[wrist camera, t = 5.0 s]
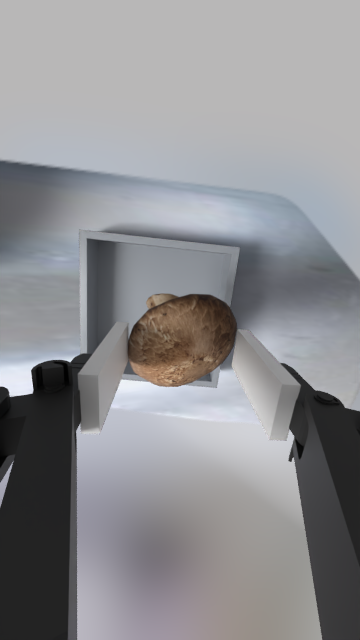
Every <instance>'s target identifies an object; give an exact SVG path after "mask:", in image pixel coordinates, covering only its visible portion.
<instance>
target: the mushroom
mask: <svg viewBox="0 0 360 640" xmlns="http://www.w3.org/2000/svg"><path fill="white" fill-rule="evenodd" d="M146 305H147V307H148V310H147V311H146V313H145V314H144V315H143V316H142V317H141V318H140V319H139V320H138V321H137V322H136V323H135V324H134V326H133V328H132V331H131V334H130V337H129V340H128V358H129V362H130V366H131V367H132V369H133V371H134V372H135V373H136V374H137V375H138V376H140V377H142V378H144V379H145V380H147V381H149V382H151V383H153V384H155V385H158V386H165V387H178V386H181V385H185V384H189V383H192V382H194V381H196V380H197V379H199V378H201V377H203V376H205V375H207V374H208V373H210V372H212V371H213V370H215V369H216V368H217V367H218V366H220V365H221V364H222V363H223V361H224V360H225V359H226V357H227V356H228V355H229V353H230V352H231V350H232V348H233V346H234V342H235V336H236V331H237V323H236V320H235V317H234V315H233V313H232V311H231V309H230V307H229V306H228V305H227V303H225V302H224V301H222V300H220V299H218V298H216V297H214V296H213V295H211V294H188V295H185V296H181V297H178V296H175V295H173V294H163V293H161V294H155V295H152V296H151V297H149V298H148V300H147V301H146Z"/></svg>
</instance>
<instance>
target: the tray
mask: <svg viewBox="0 0 360 640" xmlns="http://www.w3.org/2000/svg"><path fill="white" fill-rule="evenodd" d="M239 251H240V247H232V246H223V245H214V244H205V243H196V242H187V241H178V240H169V239H160V238H150V237H141V236H132V235H123V234H114V233H105V232H96V231H87V230H79V263H80V354H82V353H87V354H93V353H94V352H95V350H96V349H97V348H98V346H99V345H100V344H101V342H102V341H103V340H104V338H105V337H106V336H107V334H108V333H109V331H110V330H111V329H112V327H113V326H114V325H115V323H116V322H129V332H128V340H129V337H130V334H131V331H132V328H133V326H134V324H135V323H136V322H137V321H138V320H139V319H140V318H141V317H142V316H143V315H144V314H145V313H146V311H147V310H148V307H147V305H146V301H147V300H148V298H149V297H151V296H152V295H155V294H161V293H163V294H173V295H175V296H178V297H181V296H185V295H188V294H211V295H213V296H214V297H216V298H218V299H220V300H222V301H224V302H225V303H227V305H228V306H229V307H230V306H231V300H232V294H233V287H234V281H235V275H236V269H237V263H238V257H239ZM220 366H221V365H220ZM220 366H218V367H217V368H216V369H215V370H213V371H212V372H210V373H208V374H207V375H205V376H203V377H201V378H199V379H197V380H196V381H194V382H192V383H189V384H185V385H190V386H201V387H213V388H217V384H218V378H219V372H220ZM121 379H124V380H135V381H146V382H149V381H147V380H145V379H144V378H142V377H140V376H138V375H137V374H136V373H135V372H134V371H133V369H132V367H131V366H130V362H129V358H128V362H127V365H126V367H125V370H124V373H123V375H122V378H121Z"/></svg>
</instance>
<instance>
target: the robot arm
mask: <svg viewBox="0 0 360 640" xmlns="http://www.w3.org/2000/svg"><path fill="white" fill-rule="evenodd" d="M128 332H129V322H116V323H115V325H114V326H113V327H112V329H111V330H110V331H109V333H108V334H107V336H106V337H105V338H104V340H103V341H102V342H101V344H100V345H99V346H98V348H97V349H96V350H95V352H94V353H93V354H87V353H82V354H80V355H78V356H77V357H75V358H74V359H73V360H72V361H71V362H68V361H64V360H51V361H46V362H43V363H40V364H38V365H36V366H35V367H33V369H32V370H31V373H32V381H33V390H34V391H33V394H28V395H22V396H15V397H10V396H9V391H8V389H7V388H5V387H0V482H1V480H2V479H3V477H4V476H5V474H6V472H7V471H8V469H9V467H10V465H11V464H12V462H13V460H14V462H13V465H12V469H11V472H10V476H9V480H8V483H7V487H6V490H5V494H4V497H3V501H2V504H1V508H0V640H77V444H76V443H77V439H76V430H77V428H78V426H79V424H81V433H82V434H100V432H101V430H102V427H103V425H104V422H105V419H106V417H107V414H108V412H109V409H110V406H111V404H112V401H113V399H114V396H115V393H116V391H117V388H118V386H119V383H120V380H121V378H122V375H123V373H124V370H125V367H126V365H127V362H128ZM232 368H233V370H234V372H235V374H236V376H237V378H238V380H239V382H240V384H241V386H242V388H243V390H244V391H245V393H246V395H247V397H248V399H249V401H250V403H251V405H252V407H253V409H254V411H255V413H256V415H257V417H258V419H259V421H260V423H261V425H262V427H263V429H264V431H265V433H266V435H267V436H268V438H269V440H280V441H286V440H287V437H288V433H289V429H290V430H291V432H292V433H293V435H294V436H295V437H294V441H293V445H292V448H291V452H290V455H289V461H290V462H291V461H292V458H293V457H294V460H295V466H296V473H297V479H298V486H299V492H300V499H301V505H302V511H303V517H304V524H305V531H306V537H307V542H308V550H309V556H310V563H311V569H312V576H313V582H314V588H315V595H316V601H317V607H318V614H319V620H320V627H321V633H322V640H360V411H356V410H351V409H347V408H345V407H344V405H343V404H342V402H341V401H340V400H339V399H337V398H336V397H334V396H332V395H330V394H328V393H325V392H322V391H316V390H314V389H313V388H312V387H311V386H310V385H309V384H308V383H307V382H306V381H305V380H304V379H303V378H302V377H301V376H300V375H298V373H297V372H296V371H295V370H294V369H293V368H291V367H290V366H288V365H286V364H284V363H279V362H278V361H277V359H276V358H275V357H274V356H273V355H272V354H271V353H270V352H269V351H268V350H267V349H266V348H265V347H264V346H263V345H262V344H261V342H260V341H259V340H258V339H257V338H256V337H255V336H254V335H253V334H252V333H251V332H250V331H249V330H242V329H237V335H236V342H235V348H234V354H233V361H232Z"/></svg>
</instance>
